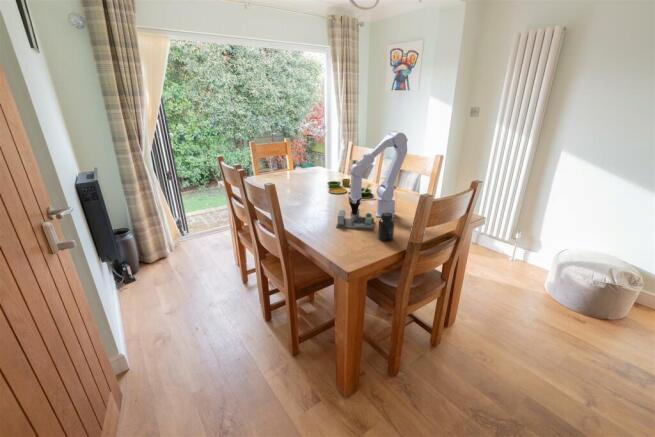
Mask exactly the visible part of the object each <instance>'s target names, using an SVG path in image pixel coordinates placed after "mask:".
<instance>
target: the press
mask: <svg viewBox="0 0 655 437" xmlns="http://www.w3.org/2000/svg"><path fill="white" fill-rule="evenodd" d="M346 212H347V211H346V210H345V209H344V210H342V209H340V210H339V211H338V213H337V223H336V225H335V228H337V229H349V230H350V229H351V230H362V231H363V230H367V231H374V222H375V221H374V220H375V217H373V216H372V222H371V224H365V217H366V216H360V217H357V216H356V219H354V218H347V215H346Z"/></svg>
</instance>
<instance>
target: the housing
mask: <svg viewBox="0 0 655 437" xmlns="http://www.w3.org/2000/svg"><path fill="white" fill-rule="evenodd" d="M350 209H351V208H350ZM360 213H361V208H358V211H357V215H353V214H352V209H351V210H350V219H356V216H357V217H361V216H360V215H361V214H360Z"/></svg>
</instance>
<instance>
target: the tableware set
mask: <svg viewBox="0 0 655 437" xmlns="http://www.w3.org/2000/svg"><path fill="white" fill-rule="evenodd" d="M326 185H328V187H329V188H330V189H328V190H327V191H328V193H330V194H333V195H343V194H345V193H347V196H348V195H350V191H348V190H347V189H346V187H349V186H350V187H351V178H343V179H341V182H340V181H337V180H335V181H334V180H331V181H328V182H327V184H326ZM341 185H342V187H340V186H341ZM343 187H345V188H343ZM370 187H371V184H370V183H369V184H367V185H366V186H362V191H361V195H362V198H361V200H360V202H364V201H378V198H372V197H373V196H374V194H373V193H372V189H370ZM347 198H348V202H350V201H352V199H351V198H350V197H347Z"/></svg>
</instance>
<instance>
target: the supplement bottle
mask: <svg viewBox="0 0 655 437" xmlns="http://www.w3.org/2000/svg"><path fill="white" fill-rule="evenodd" d="M392 216H393V214H391V213H388V212H385V213H382V215H381V217H380V219H379V221H378V237H377V238H378V239H379V240H380V241H381V242H385V243H386V242H392V241H394V235H395V221H394V218H393V217H392Z"/></svg>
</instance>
